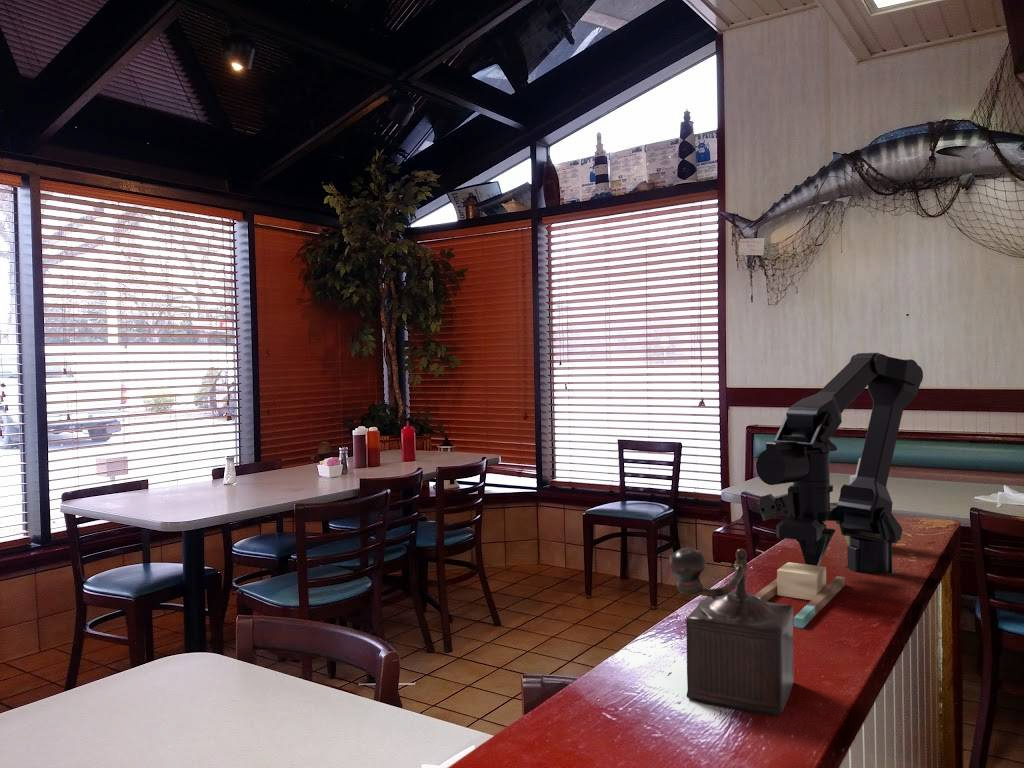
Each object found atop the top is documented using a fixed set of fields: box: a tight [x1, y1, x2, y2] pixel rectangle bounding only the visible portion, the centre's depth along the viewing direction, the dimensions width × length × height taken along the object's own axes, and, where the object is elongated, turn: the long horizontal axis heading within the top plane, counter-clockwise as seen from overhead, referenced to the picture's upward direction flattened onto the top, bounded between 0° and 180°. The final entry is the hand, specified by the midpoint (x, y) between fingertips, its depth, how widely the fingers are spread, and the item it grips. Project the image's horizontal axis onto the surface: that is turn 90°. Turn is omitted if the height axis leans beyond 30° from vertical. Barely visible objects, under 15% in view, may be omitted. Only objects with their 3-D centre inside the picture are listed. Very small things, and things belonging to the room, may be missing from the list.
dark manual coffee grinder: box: [669, 547, 795, 717], centre depth 87 cm, size 16×11×18 cm
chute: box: [753, 575, 846, 629], centre depth 121 cm, size 25×10×2 cm, turn 144°
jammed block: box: [776, 561, 827, 601], centre depth 124 cm, size 6×6×4 cm
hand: (812, 572), depth 129 cm, fingers closed
